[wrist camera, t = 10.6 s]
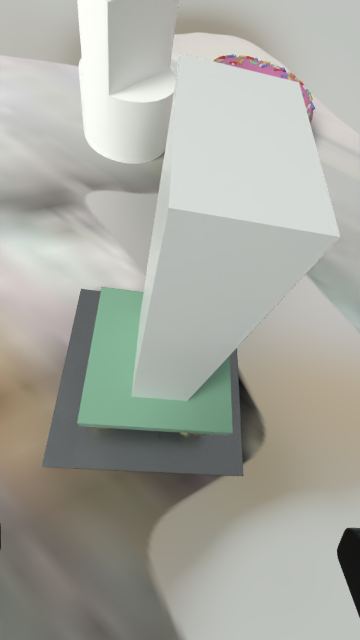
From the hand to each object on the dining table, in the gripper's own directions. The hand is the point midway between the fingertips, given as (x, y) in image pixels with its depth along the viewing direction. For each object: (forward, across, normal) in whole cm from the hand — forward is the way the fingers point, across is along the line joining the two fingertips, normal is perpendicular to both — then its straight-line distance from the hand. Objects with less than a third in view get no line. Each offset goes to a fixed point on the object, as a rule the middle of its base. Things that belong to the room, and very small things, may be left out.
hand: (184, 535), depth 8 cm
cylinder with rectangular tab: (+33, +5, -16) cm, 37 cm away
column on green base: (+11, 0, 0) cm, 11 cm away
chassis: (+14, 0, +3) cm, 14 cm away
